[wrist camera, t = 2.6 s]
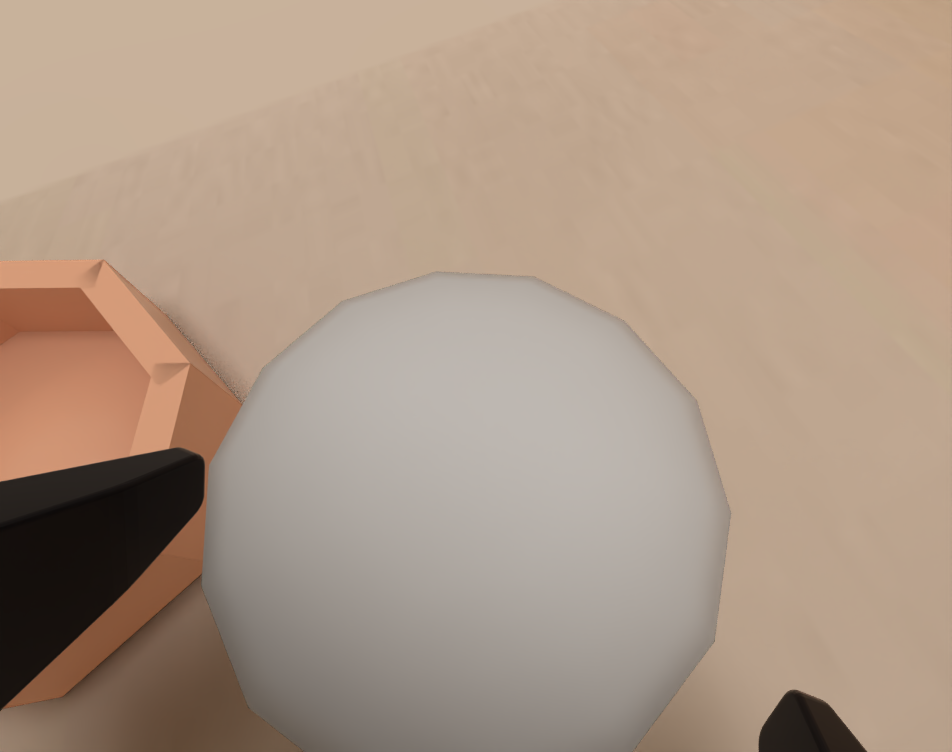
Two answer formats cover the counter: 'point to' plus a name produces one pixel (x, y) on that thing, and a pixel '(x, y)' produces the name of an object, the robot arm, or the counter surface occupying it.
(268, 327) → the counter surface
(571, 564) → the salt shaker
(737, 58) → the counter surface
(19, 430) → the bowl
